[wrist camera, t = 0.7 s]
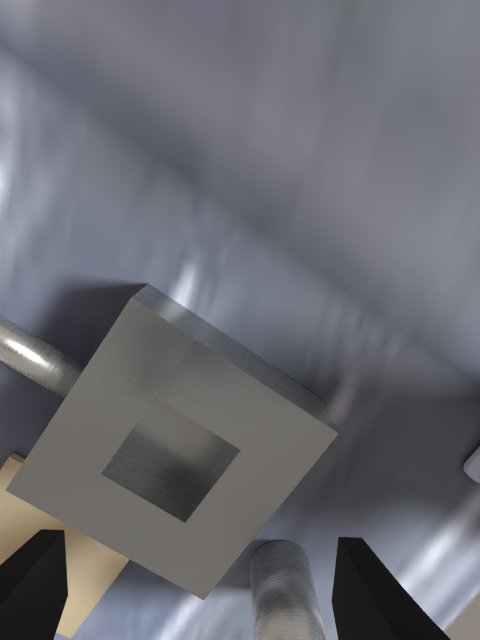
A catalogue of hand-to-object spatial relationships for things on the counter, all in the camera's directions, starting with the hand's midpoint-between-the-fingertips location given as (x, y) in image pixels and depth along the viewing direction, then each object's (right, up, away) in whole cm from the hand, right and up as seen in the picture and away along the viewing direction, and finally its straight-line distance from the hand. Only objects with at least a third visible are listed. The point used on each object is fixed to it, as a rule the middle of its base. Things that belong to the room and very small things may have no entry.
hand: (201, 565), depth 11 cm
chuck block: (-6, +4, +9) cm, 12 cm away
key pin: (+3, -7, +12) cm, 14 cm away
